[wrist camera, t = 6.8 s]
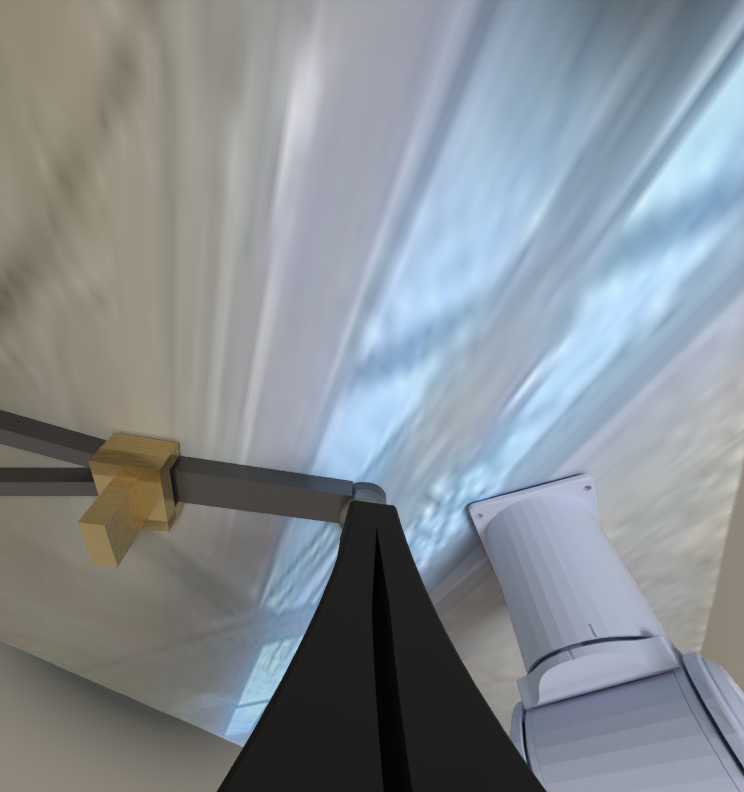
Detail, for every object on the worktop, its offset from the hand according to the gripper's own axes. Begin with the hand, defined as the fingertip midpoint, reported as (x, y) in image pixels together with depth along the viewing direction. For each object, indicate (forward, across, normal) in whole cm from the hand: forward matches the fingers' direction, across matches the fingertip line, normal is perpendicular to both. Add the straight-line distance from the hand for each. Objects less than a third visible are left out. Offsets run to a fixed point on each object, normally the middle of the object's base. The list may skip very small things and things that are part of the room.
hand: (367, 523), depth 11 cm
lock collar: (+9, +12, +10) cm, 18 cm away
